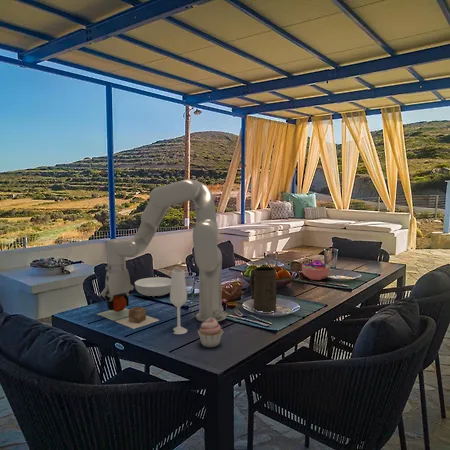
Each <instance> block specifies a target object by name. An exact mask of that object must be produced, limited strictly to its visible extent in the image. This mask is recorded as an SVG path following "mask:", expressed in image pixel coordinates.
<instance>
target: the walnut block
mask: <svg viewBox="0 0 450 450" xmlns="http://www.w3.org/2000/svg"><path fill="white" fill-rule="evenodd" d="M128 311H129V316H128V317H129V322H133V323H141V322H143V321H144V320H146V315H147V311H146V307H142V306H134V307H131V308H130V310H128Z"/></svg>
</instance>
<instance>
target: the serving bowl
mask: <svg viewBox="0 0 450 450" xmlns="http://www.w3.org/2000/svg"><path fill="white" fill-rule="evenodd" d="M134 288H135V290H136V291H137V292H138V293H139V294H141V295H143V296H146V297H150V296H152V298H154V297H155V296H158V297H162V296H165V295H167V294H170V290H171V278H169V277H158V276H156V277H146V278H140V279H137V280H136V281H134ZM155 298H156V297H155Z"/></svg>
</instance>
